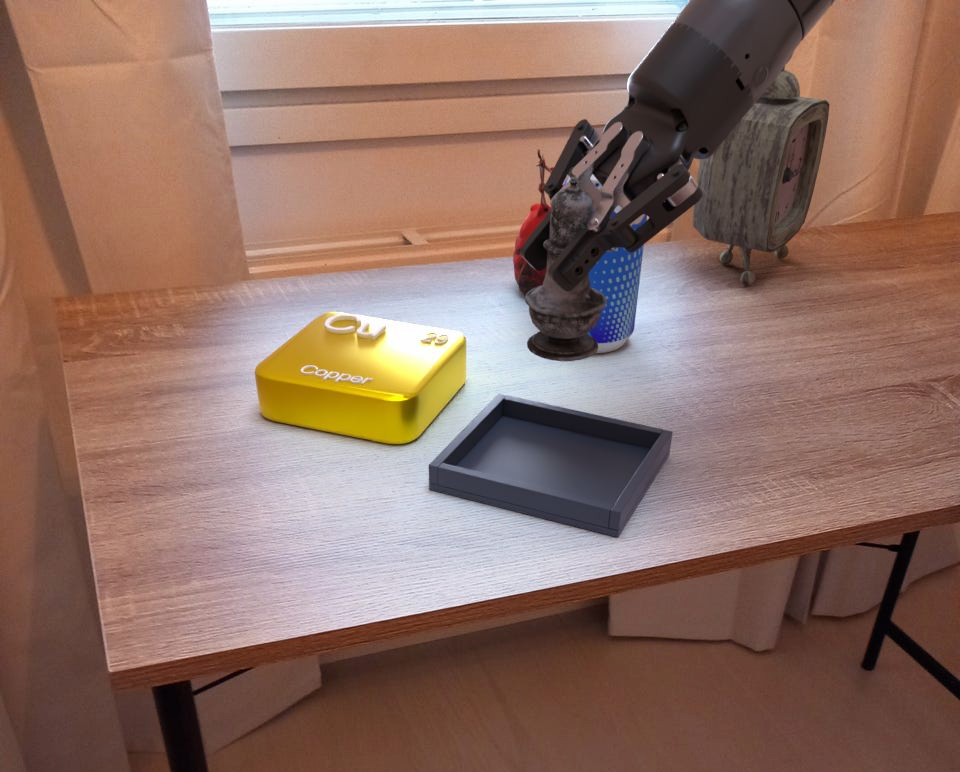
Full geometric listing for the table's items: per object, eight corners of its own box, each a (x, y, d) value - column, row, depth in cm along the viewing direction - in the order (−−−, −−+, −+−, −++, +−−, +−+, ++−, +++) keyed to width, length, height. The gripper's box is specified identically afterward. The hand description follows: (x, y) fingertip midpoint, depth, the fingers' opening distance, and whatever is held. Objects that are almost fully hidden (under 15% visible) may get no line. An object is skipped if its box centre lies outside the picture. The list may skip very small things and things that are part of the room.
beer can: (591, 364, 98) (607, 189, 88) (531, 336, 103) (539, 167, 93) (649, 341, 102) (671, 172, 92) (589, 315, 107) (603, 152, 97)
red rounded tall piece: (590, 290, 113) (603, 144, 103) (551, 308, 108) (561, 158, 99) (536, 273, 116) (543, 130, 107) (497, 290, 112) (500, 143, 103)
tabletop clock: (754, 295, 112) (804, 34, 96) (679, 278, 116) (714, 24, 100) (799, 257, 122) (851, 14, 106) (728, 242, 125) (768, 5, 109)
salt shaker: (509, 336, 77) (515, 167, 69) (579, 324, 79) (592, 158, 71) (544, 368, 73) (554, 192, 65) (616, 355, 75) (634, 182, 67)
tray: (669, 454, 85) (673, 431, 83) (617, 537, 75) (620, 512, 74) (497, 416, 90) (498, 393, 88) (428, 489, 80) (428, 464, 79)
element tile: (251, 418, 89) (243, 366, 86) (329, 351, 99) (325, 303, 96) (410, 450, 85) (408, 397, 82) (472, 376, 96) (473, 327, 93)
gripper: (627, 2, 70) (465, 208, 74) (755, 39, 60) (561, 275, 64) (680, 82, 75) (527, 271, 79) (806, 128, 65) (624, 341, 69)
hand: (543, 272), depth 71 cm, fingers closed on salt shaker, 3 cm apart
